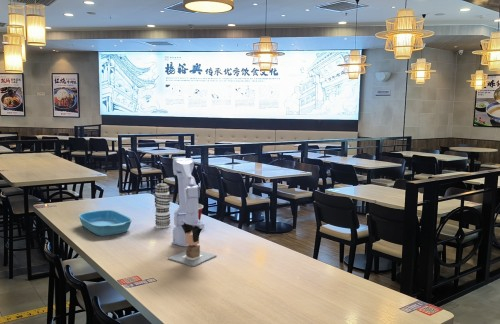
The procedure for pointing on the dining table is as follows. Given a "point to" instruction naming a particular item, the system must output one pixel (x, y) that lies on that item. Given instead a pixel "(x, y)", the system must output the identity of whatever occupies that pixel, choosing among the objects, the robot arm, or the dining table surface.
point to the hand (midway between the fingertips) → (192, 240)
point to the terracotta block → (190, 239)
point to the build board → (192, 261)
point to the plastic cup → (199, 211)
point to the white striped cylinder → (162, 205)
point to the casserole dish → (105, 222)
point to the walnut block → (193, 251)
